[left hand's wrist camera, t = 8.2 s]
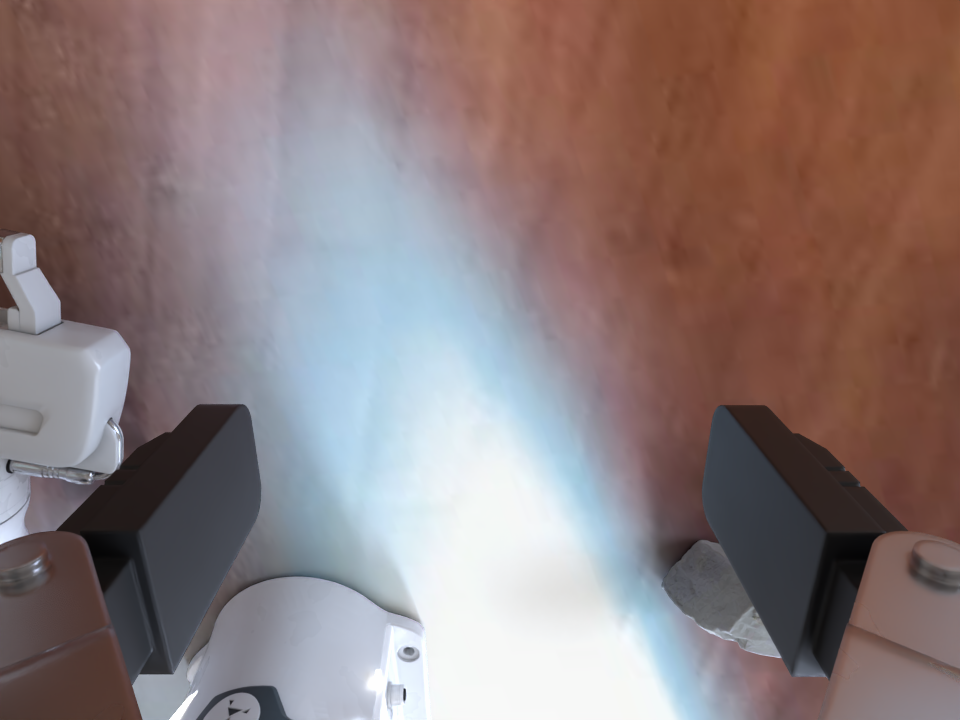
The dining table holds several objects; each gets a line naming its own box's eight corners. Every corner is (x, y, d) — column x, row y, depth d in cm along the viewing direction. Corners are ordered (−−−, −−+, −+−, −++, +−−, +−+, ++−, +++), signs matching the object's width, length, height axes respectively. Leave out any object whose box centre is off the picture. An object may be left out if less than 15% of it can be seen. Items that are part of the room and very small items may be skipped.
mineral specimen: (774, 613, 48) (800, 704, 40) (657, 581, 49) (662, 664, 42) (809, 533, 45) (843, 615, 38) (684, 502, 46) (694, 575, 39)
